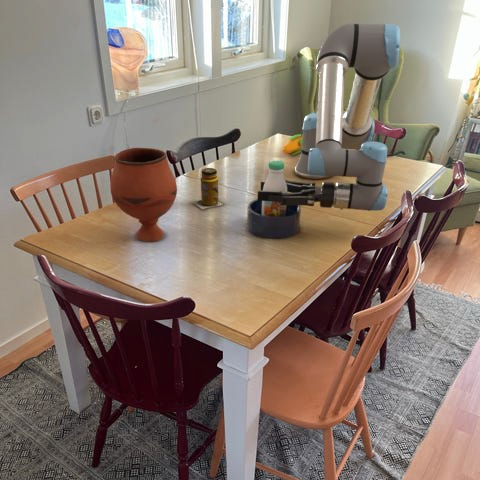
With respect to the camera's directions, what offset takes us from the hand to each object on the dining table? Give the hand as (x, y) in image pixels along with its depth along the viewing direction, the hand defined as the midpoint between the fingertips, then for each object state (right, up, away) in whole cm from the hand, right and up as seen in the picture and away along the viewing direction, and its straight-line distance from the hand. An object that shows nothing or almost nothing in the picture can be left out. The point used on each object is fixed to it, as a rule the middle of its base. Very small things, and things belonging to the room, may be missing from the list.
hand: (259, 190), depth 147 cm
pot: (+5, -10, +6) cm, 13 cm away
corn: (+19, +37, +73) cm, 84 cm away
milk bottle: (+5, -10, +6) cm, 12 cm away
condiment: (-17, +1, +22) cm, 28 cm away
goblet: (-34, -14, +1) cm, 37 cm away
